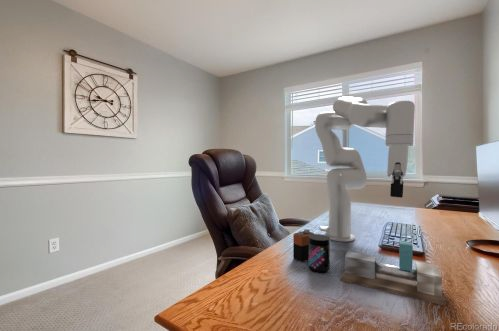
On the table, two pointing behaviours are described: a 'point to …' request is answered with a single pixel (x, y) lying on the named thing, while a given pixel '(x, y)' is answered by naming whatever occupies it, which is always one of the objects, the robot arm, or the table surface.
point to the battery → (301, 245)
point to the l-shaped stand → (400, 264)
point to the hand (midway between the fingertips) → (396, 194)
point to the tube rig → (394, 278)
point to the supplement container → (319, 253)
